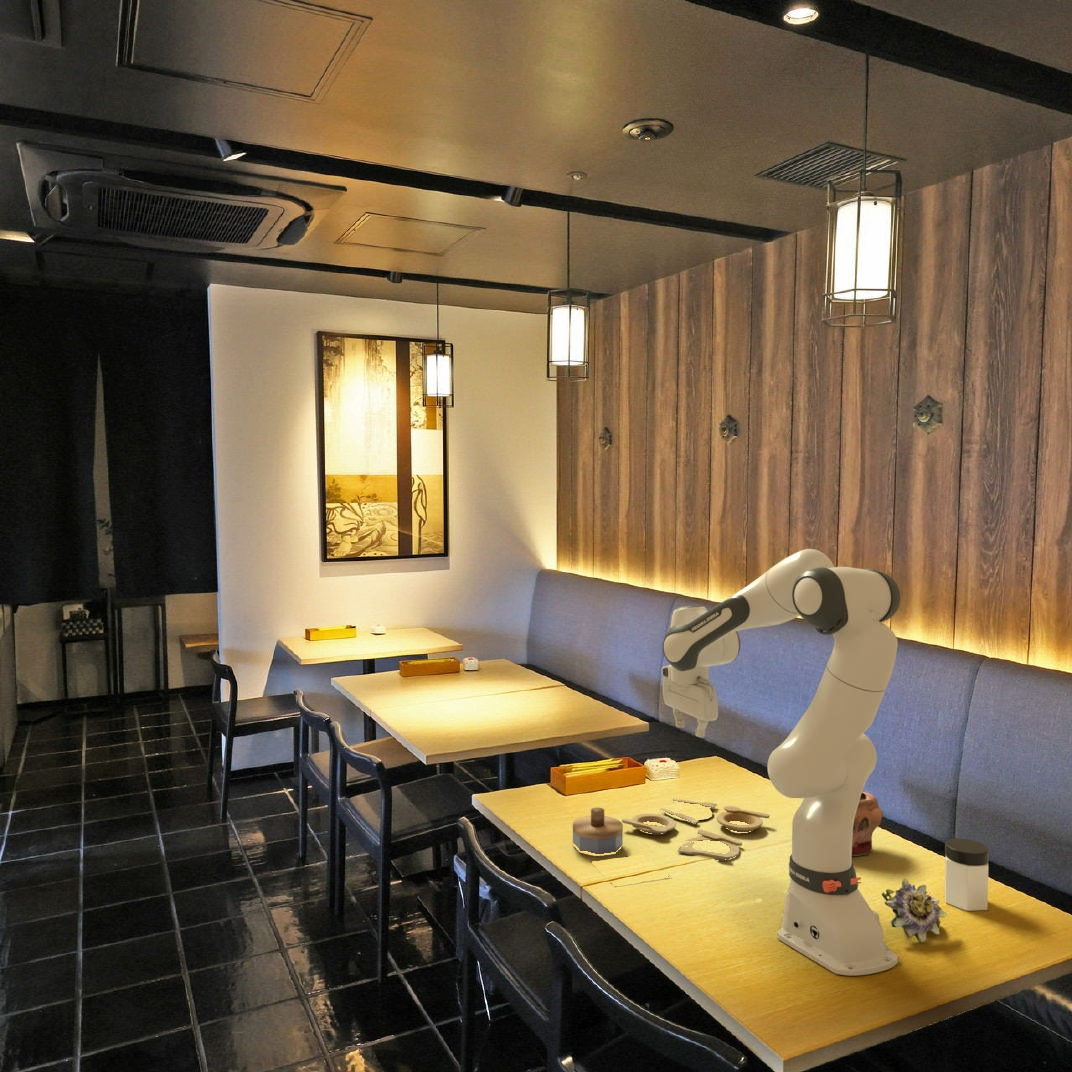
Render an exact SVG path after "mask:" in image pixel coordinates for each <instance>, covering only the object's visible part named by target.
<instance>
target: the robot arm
mask: <svg viewBox="0 0 1072 1072" xmlns="http://www.w3.org/2000/svg"><path fill="white" fill-rule="evenodd" d="M900 606H901V591H900V587H899V585H898V584H897V582H896V580H895V579H894V578H893V577H891V576H890V575H889V574H887V573H885V572H882V571H880V570H876V569H872V568H857V567H851V566H835V565H834V564H833V562H832V560H831V558H829V557H828V556H827V555H826V554H825V553H823V552H822V551H820V550H818V549H814V548H807V549H802V550H798V551H797V552H794V553H793V554H791V555H789V556H787V557H785V558H783V559H781V560H780V561H779V562H778V563H776V564H775V565H774V566H773V565H772V566H771V568H769V569H768V570H767V571H765V572H764V573H762V575H760V576H759V577H758V578H756V579H755V580H754V581H752V582H750V583H749V584H748V585H747V586H745V587H744V588H742V589H740V590H739V591H737V592H736V593H735V594H733V595H731V596H730V597H728V598H726V599H725V600H724V601H722V602H720V603H718V604H717V605H715V606H713V607H712V608H710V609H709V610H708V609H707V608H706V607H705V606H703V605H698V604H696V605H694V604H693V605H688V606H680V607H679V606H678V607H676V609H674V610H673V612H672V615H671V622H670V628H669V629H668V631H667V632H666V634H665V636H664V638H663V639H664V640H663V641H662V642H663V643H662V652H663V655H664V658H665V660H666V662H668V663H669V664H668V665H666V666H662V667H661V670H660V671H661V674H660V675H661V676H662V677H663V678H662V697H663V698H662V699H663V702H664V705H666V706H668V707H670V708H672V714H673V718H674V719H675V727H676V728H679V729H684V728H685V727H686V721H685V719H684V716H683V714H687V715H688V716H691V717H693V718H695V719H696V722H697V726H696V727H697V728H695V729H694V731H695V733H694V734H695V736H696V737H698V738H705V737H706V729H707V726H708V724H709V722H712V721H713V722H714V721H717V719H718V717H719V706H718V703H719V702H718V696H717V691H716V689H715V688H714V685H713V684H712V682H711V680H709V678H710V677H709V675H710V674H709V670H710V669H709V667H715V666H722V665H727V664H729V663H732V662H734V661H735V660H736V659H737V658H738V656H739V654H740V650H741V639H740V635H739V633H738V632H739V631H744V630H748V629H757V628H764V627H772V626H773V627H774V626H778V625H781V624H784V623H787V622H790V621H792V620H794V619H796V618H798V617H799V616H800V617H801V619H803V620H804V621H806V622H807V623H808V624H810V625H812V626H813V627H814V629H815V630H816V631H817V632H818V633H819V634H821V635H823V636H830V635H832V637H833V649H832V651H831V654H830V656H829V658H828V661H827V663H826V667H825V669H824V672H823V674H822V677H821V679H820V682H819V685H818V688H817V689H816V692H815V695H814V697H813V699H812V700H811V703H810V704H809V706H808V707H807V709H806V711H804V714H802V717H800V719H799V721H798V722H797V724H796V725H795V726H794V728H793V729H792V730H791V732H790V734H789V735H788V736H787V737H786V738H785V740H784V741H783V742H781V744H780V745H779V746H777V747H776V748H775V749H774V750H772V752H771V753H770V754H769V756H768V757H769V758H768V759H767V774H768V777H769V779H770V782H771V784H772V785H773V786H772V787H774V788H775V790H776V791H777V792H778V793H779V794H781V795H782V796H784V797H786V798H789V799H803V800H802V802H801V803H800V805H799V806H798V808H797V809H796V811H795V813H794V815H793V817H792V823H791V824H792V825H791V826H792V827H791V828H792V829H791V831H792V832H791V854H790V856H789V861H788V875H789V878H790V882H789V884H788V888H787V891H786V893H785V896H784V905H783V914H782V922H781V928H779V930H778V931H777V936H776V938H777V939H778V940H779V941H781V942H783V943H784V944H785V945H786V946H789V947H791V948H792V949H794V950H796V951H797V952H798V953H800V954H802V955H804V956H805V957H807V958H808V959H811V960H812V961H814V962H815V963H817V964H819V965H820V966H822V967H824V968H825V969H827V970H828V971H830V972H832V973H834V974H835V975H843V976H864V975H871V974H876V973H880V972H885V971H887V970H890V969H892V968H893V967H895V966H896V965H897V964H898V963H899V957H898V955H897V954H896V953H895V952H894V951H893V949H891V948H890V946H888V945H887V944H886V943H885V940H884V930H883V926H882V923H881V922H880V915H879V913H878V911H876V910H872V909H871V907H870V905H869V904H868V902H867V900H866V899H865V897H864V896H863V894H862V893H861V892H860V889H859V884H862V882H861V881H860V880H862V877H857V872H856V869H855V866H854V863H853V862H852V861H853V860H852V857H853V856H852V835H853V824H854V819H855V814H856V811H857V807H858V804H859V800H860V797H861V794H862V792H864V791H863V790H864V788H865V785H866V782H867V781H868V779H869V778H870V775H872V773H873V772H874V770H875V768H876V765H877V761H878V756H877V755H878V754H877V751H876V747H875V744H874V743H873V741H872V740H871V739H870V737H868V736H867V735H866V734H865V732H867V730H869V728H870V727H871V726H872V724H873V722H874V720H875V718H876V715H877V714H878V710H879V708H880V706H881V703H882V701H883V698H884V696H885V693H886V690H887V687H888V685H889V683H890V680H891V676H892V673H893V671H894V667H895V662H896V657H897V651H898V645H899V644H898V637H897V635H896V633H894V632H895V631H893V630H892V629H891V628H890V627H889V626H888V625H886V624H885V623H883V622H886V621H888V620H890V619H891V618H892V617H893V616H894V615H896V613H897V612H898V611H899V608H900Z"/></svg>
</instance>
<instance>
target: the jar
mask: <svg viewBox="0 0 1072 1072" xmlns="http://www.w3.org/2000/svg"><path fill="white" fill-rule="evenodd" d="M944 843H945V845H944V852H945V853H944V854H945V865H944V866H945V867H944V869H945V870H944V901H945V904H948V905H951V906H952V907H953V906H954V907H956V908H958V909H960V910H963V911H966V912H970V911H971V912H972V911H973V912H974V911H988V902H989V901H988V898H989V859H990V858H989V855H990V854H989V852H990V851H989V848H988V847H987V845H985V844H984V843H982V842H979V841H976V840H971V839H967V838H950V839H947V840H946V841H945V842H944Z"/></svg>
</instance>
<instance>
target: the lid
mask: <svg viewBox="0 0 1072 1072" xmlns="http://www.w3.org/2000/svg"><path fill="white" fill-rule="evenodd" d="M623 827H624V825H623V822H621V821H620V820H618V819H616V818H614V817H611V816H606V815H605V809H604V808H602V807H592V808H590V815H586V816H581V817H579V818H576V819H575V820H573V822H572V833H573V832H574V833H575V834H577V835H579V836H581V837H584V838H588V839H610V838H614V837H617V836H619V835H620V834H621V833H622V832H623V830H624V829H623ZM623 833H624V832H623Z"/></svg>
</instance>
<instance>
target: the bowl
mask: <svg viewBox="0 0 1072 1072" xmlns="http://www.w3.org/2000/svg"><path fill="white" fill-rule="evenodd" d="M623 833H624V832H622V833H621V834H620V835H619V836H617V837H614V838H610V839H588V838H584V837H581V836H579V835H577V834H575V833H574V832H573V831H572V844H573V843H574V844H575V845H576V846H577V847H578V848H579V850H580V851H588V852H591V853H595V854H604V853H611V852H616V851H617V850H618V849H619V848H620V847H621V846H622V845H623V843H624V842H623V837H624V836H623ZM622 847H623V846H622Z"/></svg>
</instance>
